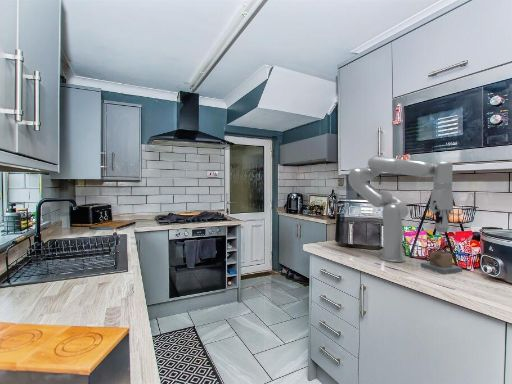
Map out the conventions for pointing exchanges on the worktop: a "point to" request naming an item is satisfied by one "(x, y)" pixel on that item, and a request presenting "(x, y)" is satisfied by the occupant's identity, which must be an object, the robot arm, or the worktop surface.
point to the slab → (441, 270)
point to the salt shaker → (443, 223)
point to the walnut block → (441, 259)
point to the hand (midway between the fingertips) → (441, 223)
